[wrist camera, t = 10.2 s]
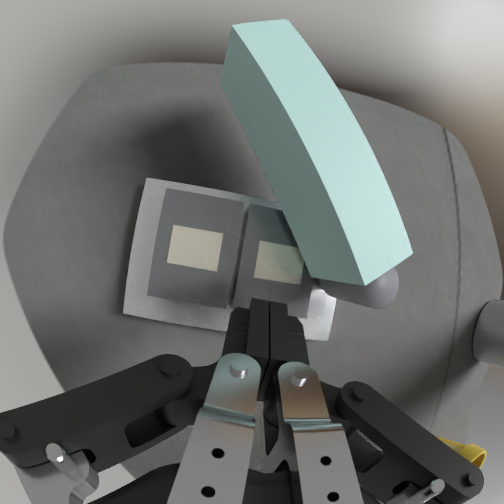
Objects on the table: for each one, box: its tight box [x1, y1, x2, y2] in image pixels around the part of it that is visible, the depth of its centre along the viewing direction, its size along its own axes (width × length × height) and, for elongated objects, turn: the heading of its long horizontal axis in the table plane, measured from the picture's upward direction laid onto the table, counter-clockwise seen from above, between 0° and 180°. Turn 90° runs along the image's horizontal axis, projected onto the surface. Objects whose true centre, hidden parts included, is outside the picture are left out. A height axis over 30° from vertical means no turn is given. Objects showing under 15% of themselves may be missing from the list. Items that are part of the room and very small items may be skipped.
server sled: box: [123, 178, 336, 341], centre depth 19 cm, size 16×10×4 cm, turn 81°
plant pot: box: [437, 437, 487, 469], centre depth 21 cm, size 10×10×10 cm
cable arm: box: [220, 19, 413, 309], centre depth 15 cm, size 17×4×6 cm, turn 25°
